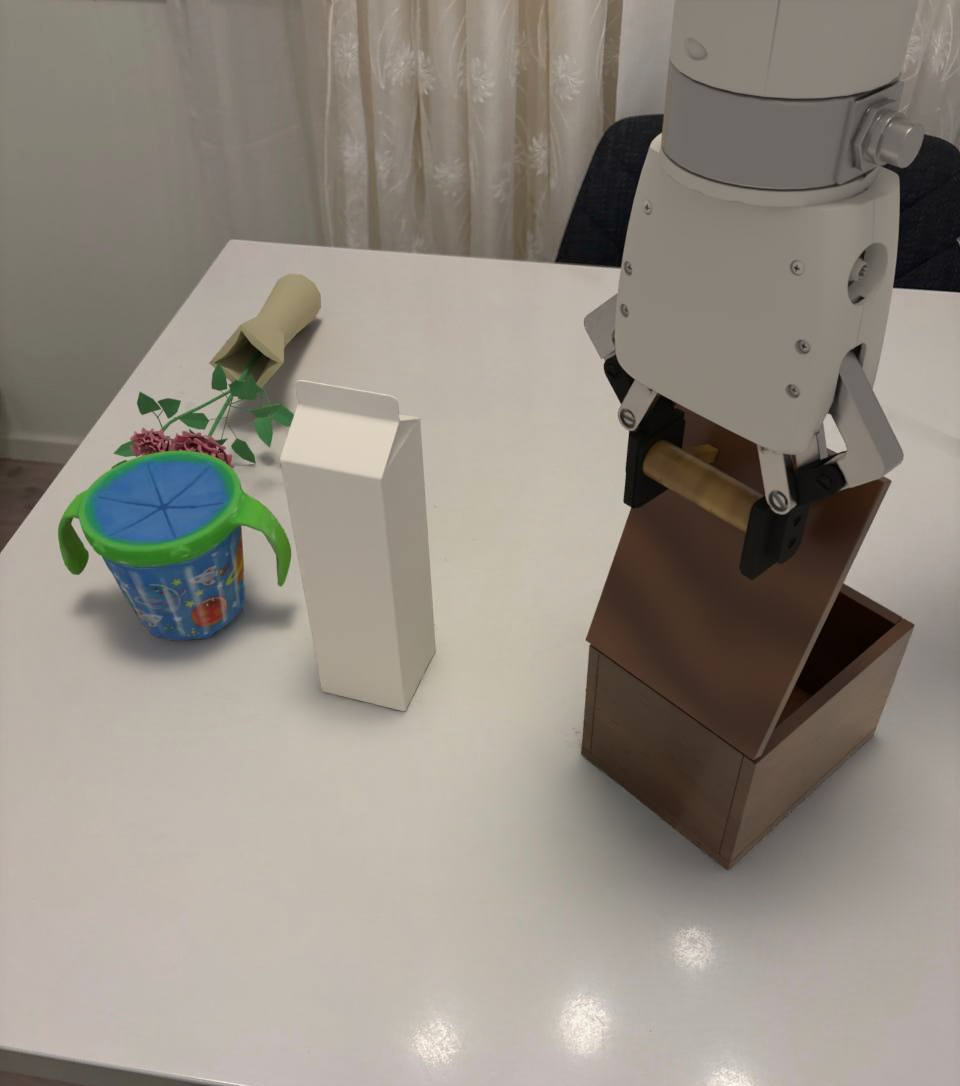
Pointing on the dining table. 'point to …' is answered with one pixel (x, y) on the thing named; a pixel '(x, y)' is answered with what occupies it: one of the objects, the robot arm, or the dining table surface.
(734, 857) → the chest
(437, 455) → the dining table surface
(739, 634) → the lid
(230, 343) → the flower vase
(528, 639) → the dining table surface
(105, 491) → the snack cup
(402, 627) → the milk
